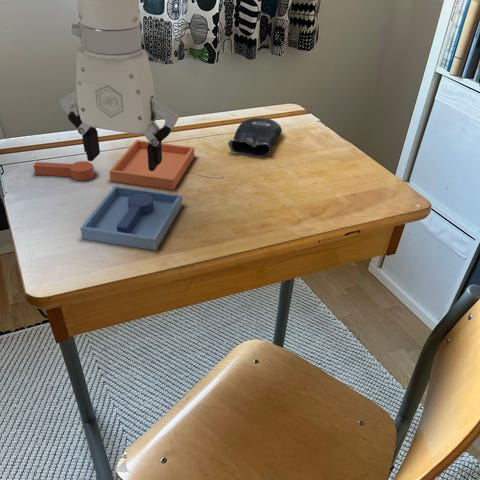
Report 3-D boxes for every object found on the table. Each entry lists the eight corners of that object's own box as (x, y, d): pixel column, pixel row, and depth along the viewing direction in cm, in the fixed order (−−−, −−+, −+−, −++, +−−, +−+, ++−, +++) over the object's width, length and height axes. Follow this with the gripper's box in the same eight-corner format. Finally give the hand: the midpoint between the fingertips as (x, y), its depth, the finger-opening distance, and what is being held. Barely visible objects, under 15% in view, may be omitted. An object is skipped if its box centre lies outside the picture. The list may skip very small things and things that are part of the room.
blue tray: (82, 238, 81) (80, 228, 80) (116, 195, 91) (114, 185, 90) (156, 250, 79) (155, 239, 78) (182, 205, 90) (181, 194, 88)
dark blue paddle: (135, 238, 81) (134, 229, 79) (110, 234, 81) (108, 225, 80) (157, 204, 89) (156, 195, 87) (134, 201, 89) (132, 192, 88)
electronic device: (273, 165, 106) (284, 127, 115) (271, 140, 101) (283, 103, 111) (229, 164, 108) (244, 127, 117) (226, 140, 104) (241, 104, 113)
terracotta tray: (110, 180, 95) (109, 170, 94) (137, 149, 105) (136, 139, 104) (173, 189, 94) (173, 179, 92) (194, 156, 104) (194, 147, 103)
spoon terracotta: (33, 178, 95) (30, 168, 93) (40, 167, 98) (38, 158, 97) (91, 181, 95) (89, 172, 94) (96, 170, 98) (95, 161, 97)
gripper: (35, 37, 65) (59, 164, 76) (167, 55, 63) (171, 182, 75) (62, 23, 70) (81, 143, 82) (184, 39, 68) (185, 160, 80)
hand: (123, 162), depth 78 cm, fingers open, 9 cm apart
